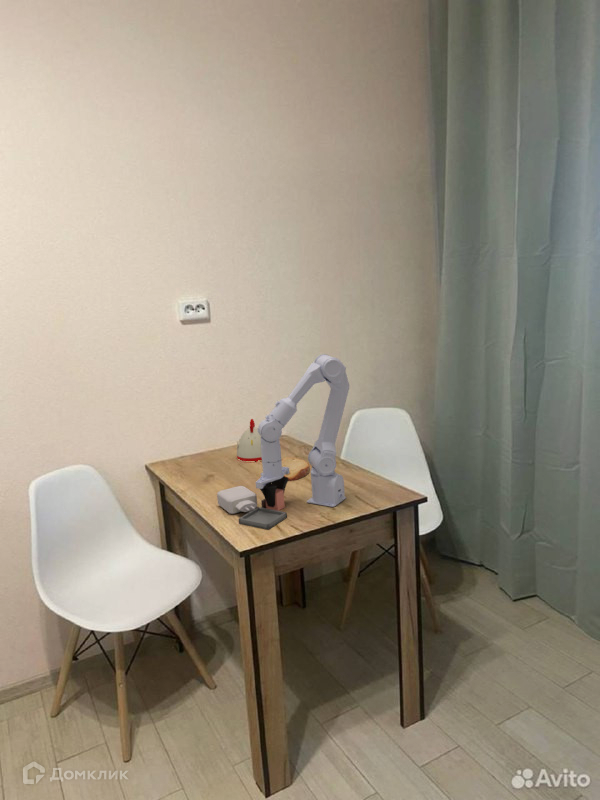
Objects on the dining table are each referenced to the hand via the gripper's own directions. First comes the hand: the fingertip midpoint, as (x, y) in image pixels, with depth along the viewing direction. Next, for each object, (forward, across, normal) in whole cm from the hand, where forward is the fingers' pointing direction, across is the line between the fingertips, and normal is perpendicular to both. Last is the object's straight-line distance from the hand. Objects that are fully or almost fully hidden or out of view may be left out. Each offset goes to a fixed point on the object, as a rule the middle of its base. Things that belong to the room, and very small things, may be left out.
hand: (275, 503), depth 173 cm
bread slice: (+2, -31, -15) cm, 34 cm away
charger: (+2, +5, -9) cm, 10 cm away
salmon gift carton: (+1, 0, 0) cm, 1 cm away
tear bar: (+1, 0, -3) cm, 3 cm away
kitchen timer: (+2, -40, -38) cm, 55 cm away
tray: (+1, +9, +2) cm, 9 cm away
